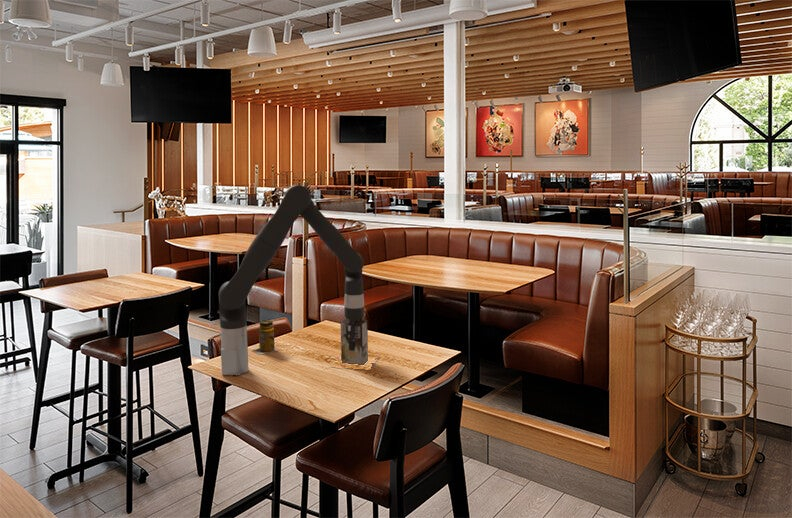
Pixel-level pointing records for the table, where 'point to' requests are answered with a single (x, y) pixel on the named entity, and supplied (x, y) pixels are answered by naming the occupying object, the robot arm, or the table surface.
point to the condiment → (266, 338)
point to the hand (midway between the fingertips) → (354, 347)
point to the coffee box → (361, 343)
